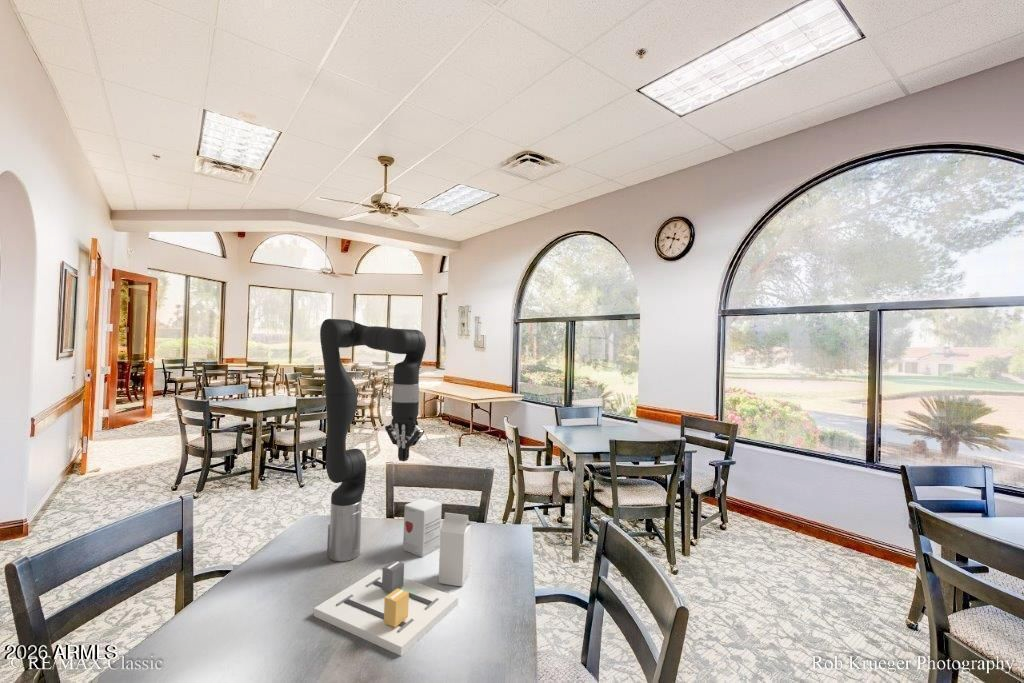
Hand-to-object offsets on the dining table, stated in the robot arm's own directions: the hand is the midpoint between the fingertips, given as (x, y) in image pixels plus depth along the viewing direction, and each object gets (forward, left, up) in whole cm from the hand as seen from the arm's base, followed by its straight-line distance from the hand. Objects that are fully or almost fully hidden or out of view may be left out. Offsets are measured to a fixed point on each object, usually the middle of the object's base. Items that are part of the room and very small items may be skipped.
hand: (403, 460), depth 126 cm
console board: (+6, -11, -35) cm, 37 cm away
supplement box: (-8, +20, -35) cm, 41 cm away
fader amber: (+13, -16, -33) cm, 38 cm away
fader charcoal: (+3, -6, -32) cm, 33 cm away
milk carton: (+12, +10, -35) cm, 39 cm away
